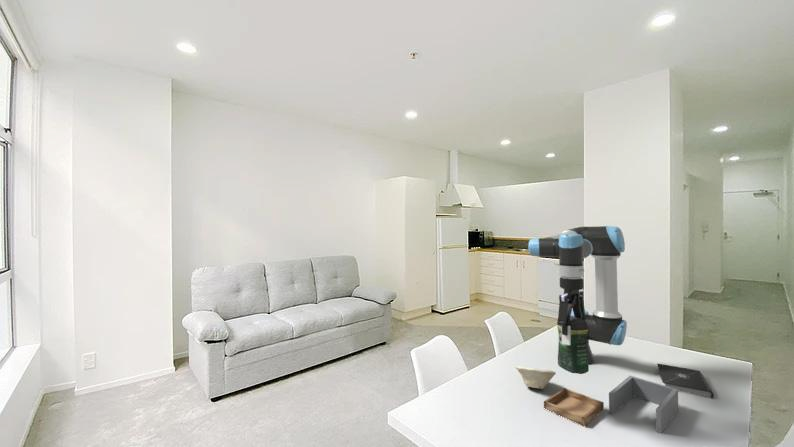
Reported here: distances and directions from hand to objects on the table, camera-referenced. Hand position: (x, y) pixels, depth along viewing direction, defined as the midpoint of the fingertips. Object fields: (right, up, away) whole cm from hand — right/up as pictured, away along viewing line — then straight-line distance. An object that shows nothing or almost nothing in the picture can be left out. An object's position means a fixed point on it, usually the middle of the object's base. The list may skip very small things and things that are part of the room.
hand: (572, 341), depth 117 cm
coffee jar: (0, -10, 0) cm, 10 cm away
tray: (0, -24, 0) cm, 24 cm away
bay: (+24, -24, -2) cm, 34 cm away
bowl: (-6, -25, +16) cm, 30 cm away
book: (+56, -25, +19) cm, 64 cm away
